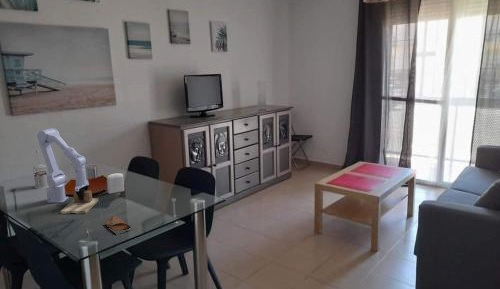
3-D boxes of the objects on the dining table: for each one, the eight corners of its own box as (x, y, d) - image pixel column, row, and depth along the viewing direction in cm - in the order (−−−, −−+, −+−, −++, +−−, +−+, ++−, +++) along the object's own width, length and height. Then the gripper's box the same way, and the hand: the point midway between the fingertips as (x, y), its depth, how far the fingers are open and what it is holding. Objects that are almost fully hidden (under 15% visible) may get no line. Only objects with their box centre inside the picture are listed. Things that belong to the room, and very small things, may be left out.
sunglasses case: (100, 223, 199) (106, 212, 200) (112, 226, 204) (117, 215, 205) (115, 235, 186) (121, 222, 187) (127, 238, 191) (133, 226, 192)
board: (60, 213, 212) (60, 211, 212) (75, 200, 231) (74, 198, 230) (85, 213, 212) (85, 210, 212) (98, 200, 231) (98, 198, 230)
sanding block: (74, 202, 224) (73, 192, 222) (77, 200, 228) (76, 190, 226) (89, 202, 224) (88, 192, 222) (92, 200, 228) (91, 190, 226)
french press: (39, 189, 249) (34, 153, 243) (29, 186, 255) (24, 150, 249) (53, 185, 257) (48, 149, 251) (43, 182, 263) (38, 147, 257)
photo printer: (123, 189, 250) (121, 171, 247) (125, 191, 247) (123, 173, 244) (107, 192, 245) (105, 174, 242) (108, 194, 241) (107, 175, 238)
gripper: (82, 180, 215) (85, 203, 218) (92, 173, 229) (94, 194, 232) (70, 180, 215) (72, 203, 218) (80, 173, 229) (82, 194, 232)
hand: (83, 198), depth 225 cm, fingers closed on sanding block, 4 cm apart
